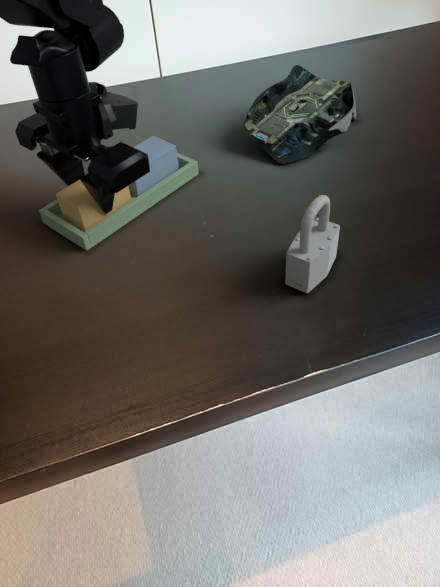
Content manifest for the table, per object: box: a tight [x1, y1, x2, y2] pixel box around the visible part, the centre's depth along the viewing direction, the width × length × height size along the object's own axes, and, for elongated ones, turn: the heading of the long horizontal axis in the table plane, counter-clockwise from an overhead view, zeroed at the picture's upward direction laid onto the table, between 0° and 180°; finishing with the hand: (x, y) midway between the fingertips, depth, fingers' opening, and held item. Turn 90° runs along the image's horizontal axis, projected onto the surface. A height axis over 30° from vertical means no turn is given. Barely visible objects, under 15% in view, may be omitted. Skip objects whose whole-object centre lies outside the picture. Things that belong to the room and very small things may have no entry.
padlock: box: [284, 194, 341, 294], centre depth 57 cm, size 7×4×10 cm, turn 145°
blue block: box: [128, 135, 179, 197], centre depth 74 cm, size 8×5×4 cm, turn 139°
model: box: [242, 64, 357, 165], centre depth 79 cm, size 20×9×14 cm
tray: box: [38, 152, 199, 251], centre depth 72 cm, size 21×9×2 cm, turn 139°
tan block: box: [55, 180, 132, 231], centre depth 69 cm, size 8×5×4 cm, turn 139°
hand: (96, 204), depth 70 cm, fingers closed on tan block, 5 cm apart
